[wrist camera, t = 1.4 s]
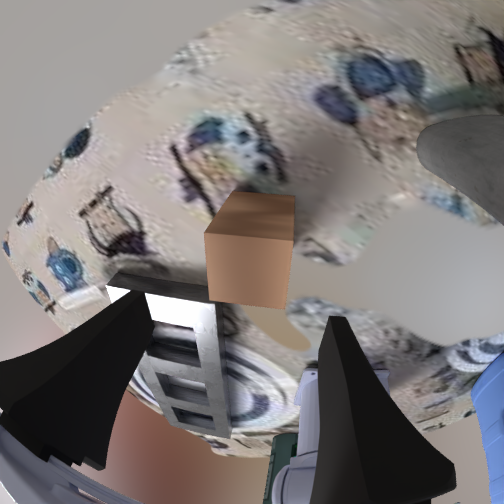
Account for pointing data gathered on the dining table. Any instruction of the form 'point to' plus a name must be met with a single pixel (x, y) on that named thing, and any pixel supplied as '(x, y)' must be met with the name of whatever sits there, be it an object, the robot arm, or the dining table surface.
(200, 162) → the dining table surface
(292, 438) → the can
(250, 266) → the square block
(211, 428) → the grey flat perforated plate
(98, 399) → the robot arm
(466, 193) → the hip flask
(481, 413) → the water jug
